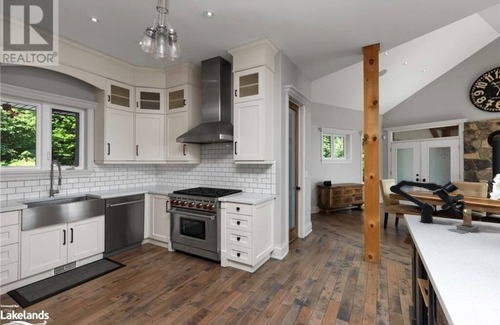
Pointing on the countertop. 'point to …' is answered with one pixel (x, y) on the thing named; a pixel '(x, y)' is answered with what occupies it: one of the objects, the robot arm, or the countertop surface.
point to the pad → (457, 231)
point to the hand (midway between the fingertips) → (464, 215)
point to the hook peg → (467, 218)
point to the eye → (468, 228)
